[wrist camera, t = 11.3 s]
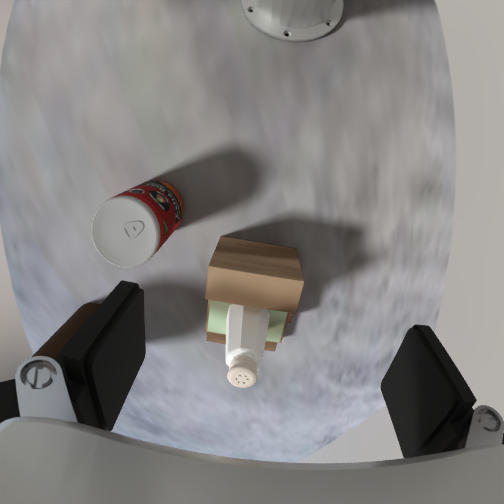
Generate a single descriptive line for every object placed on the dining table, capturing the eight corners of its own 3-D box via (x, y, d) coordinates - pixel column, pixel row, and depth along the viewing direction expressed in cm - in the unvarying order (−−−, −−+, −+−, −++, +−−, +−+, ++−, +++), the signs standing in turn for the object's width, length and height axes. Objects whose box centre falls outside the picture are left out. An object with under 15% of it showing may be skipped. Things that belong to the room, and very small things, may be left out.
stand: (220, 236, 41) (208, 266, 32) (300, 249, 41) (309, 282, 32) (209, 328, 46) (198, 370, 37) (278, 339, 46) (280, 383, 38)
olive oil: (86, 348, 50) (22, 448, 27) (66, 299, 46) (-20, 395, 23) (134, 351, 49) (77, 469, 26) (116, 298, 45) (32, 415, 22)
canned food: (197, 209, 40) (173, 237, 29) (156, 246, 42) (125, 283, 31) (158, 166, 38) (121, 179, 27) (119, 206, 40) (78, 231, 30)
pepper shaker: (242, 288, 36) (233, 348, 26) (279, 312, 37) (282, 375, 27) (217, 319, 38) (202, 381, 28) (253, 340, 39) (249, 404, 29)
